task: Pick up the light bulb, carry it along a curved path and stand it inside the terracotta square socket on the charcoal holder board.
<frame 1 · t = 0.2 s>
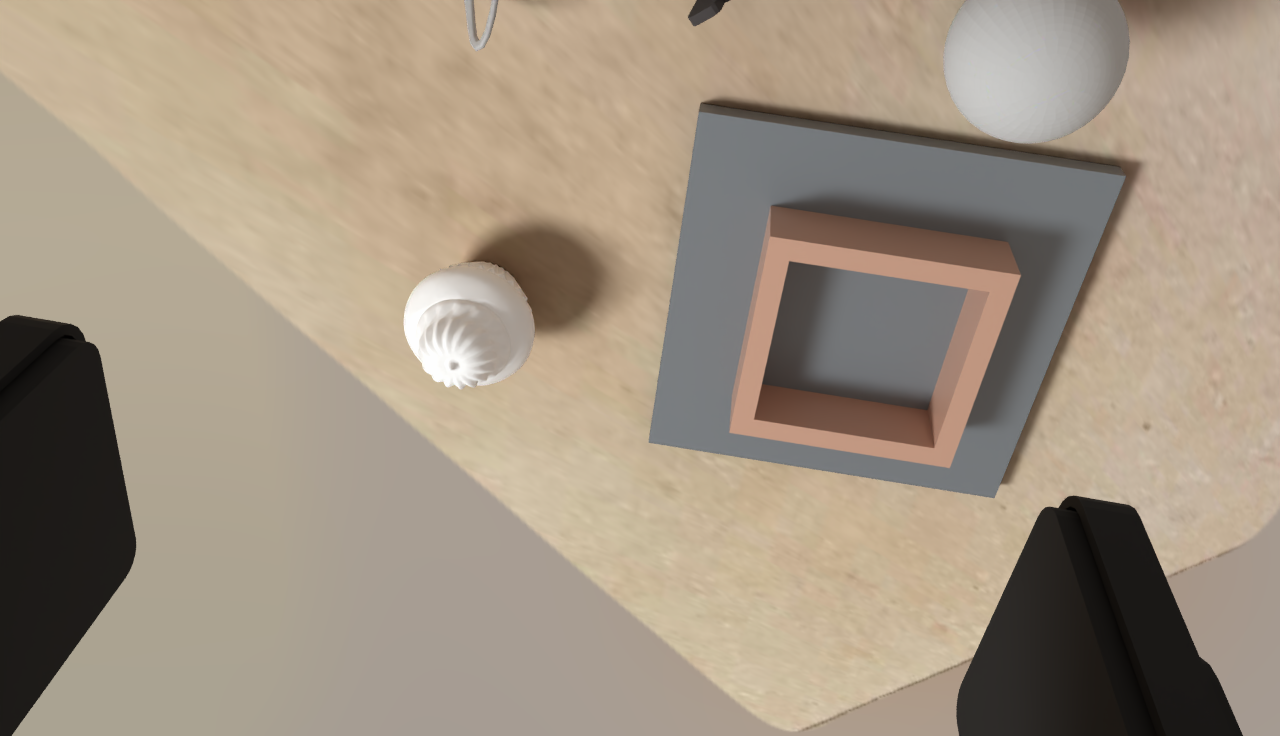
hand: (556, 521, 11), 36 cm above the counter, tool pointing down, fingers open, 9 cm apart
holder board: (859, 312, 50), on the counter
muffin: (487, 288, 52), on the counter
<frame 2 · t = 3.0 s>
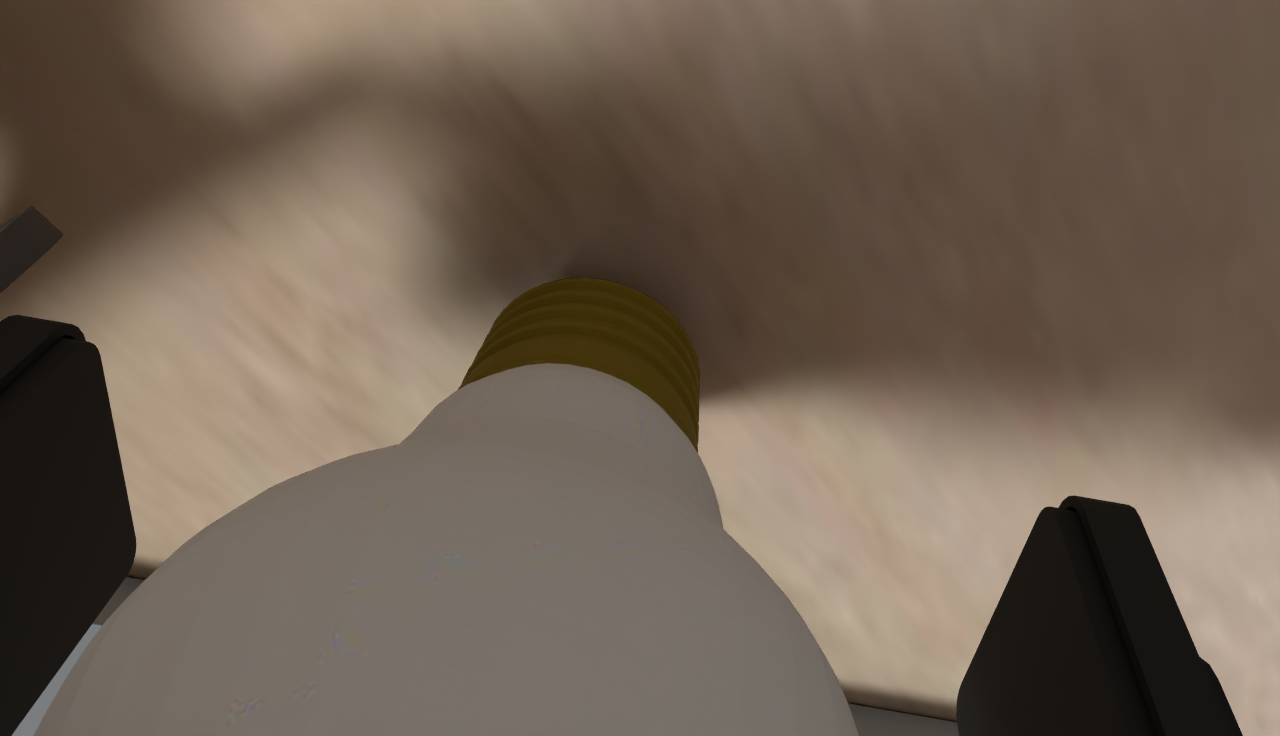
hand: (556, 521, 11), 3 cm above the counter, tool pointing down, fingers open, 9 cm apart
light bulb: (603, 328, 13), on the counter
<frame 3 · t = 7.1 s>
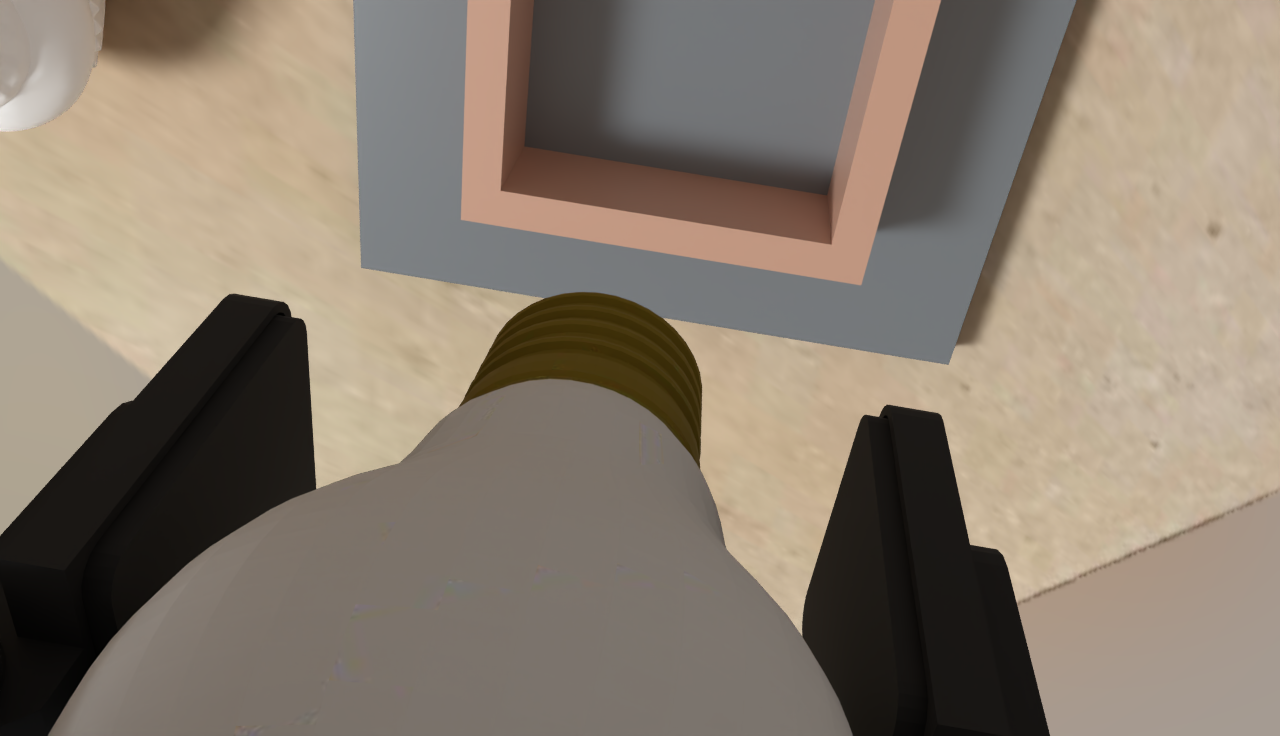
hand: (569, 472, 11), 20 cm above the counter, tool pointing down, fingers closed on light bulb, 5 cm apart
holder board: (701, 6, 28), on the counter
light bulb: (605, 341, 14), point 17 cm above the counter, touching gripper
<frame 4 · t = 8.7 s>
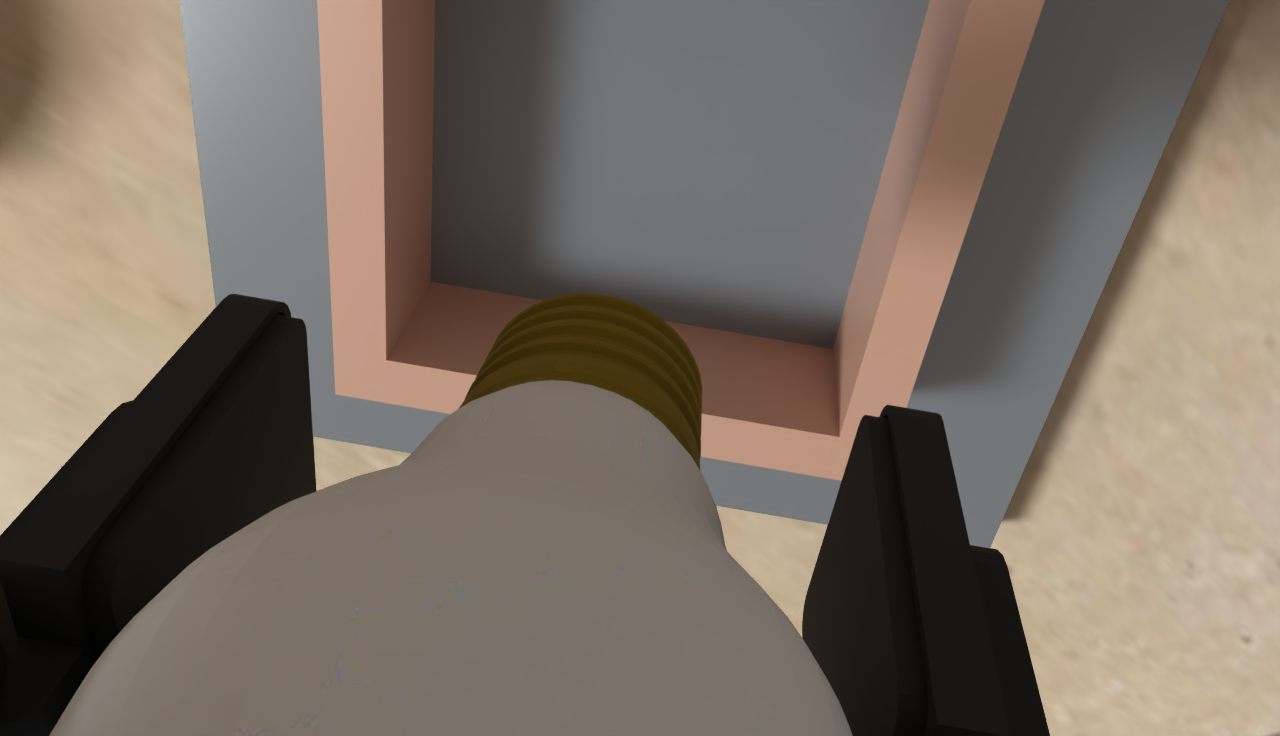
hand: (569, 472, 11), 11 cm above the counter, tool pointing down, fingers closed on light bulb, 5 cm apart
holder board: (663, 103, 20), on the counter
light bulb: (605, 342, 14), point 8 cm above the counter, touching gripper
when the fingers open (5 cm above the counter, at t = 10.3 s): light bulb drops 1 cm, resting on holder board.
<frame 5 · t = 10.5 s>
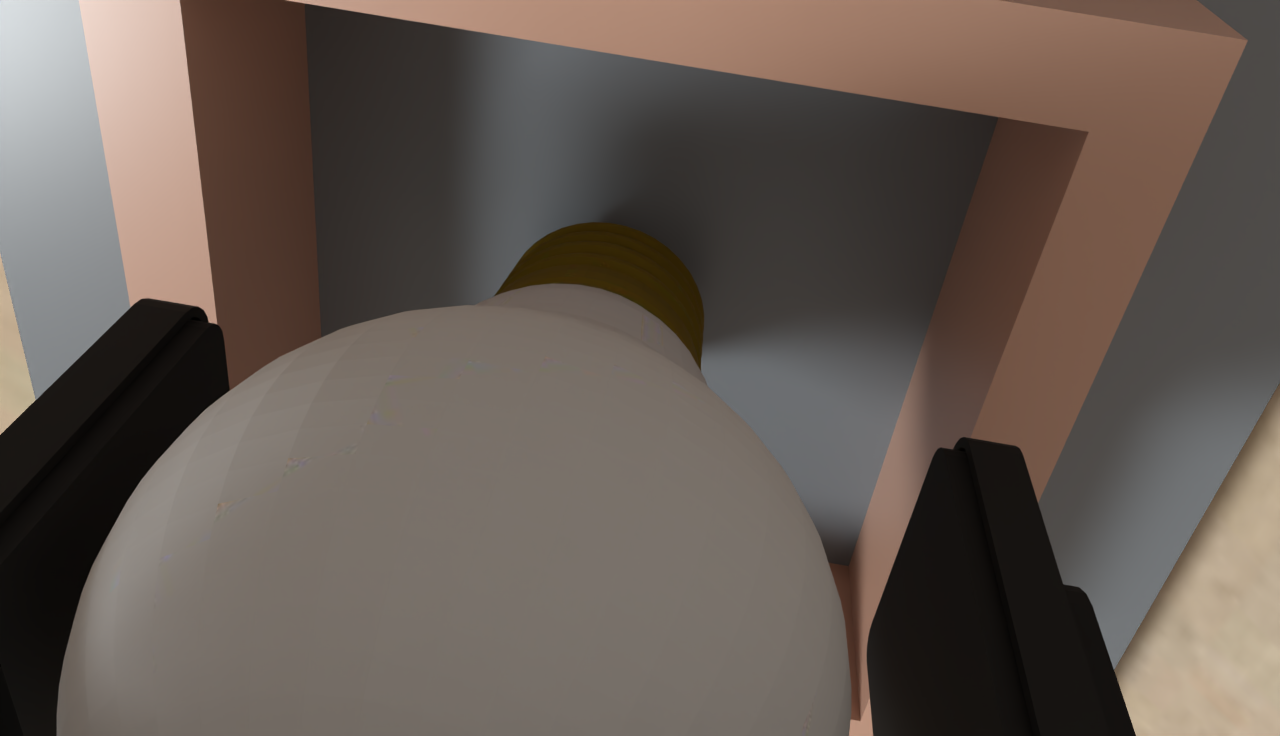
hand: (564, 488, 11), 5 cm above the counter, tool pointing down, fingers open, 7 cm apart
holder board: (626, 260, 15), on the counter
light bulb: (616, 280, 15), point 1 cm above the counter, touching holder board
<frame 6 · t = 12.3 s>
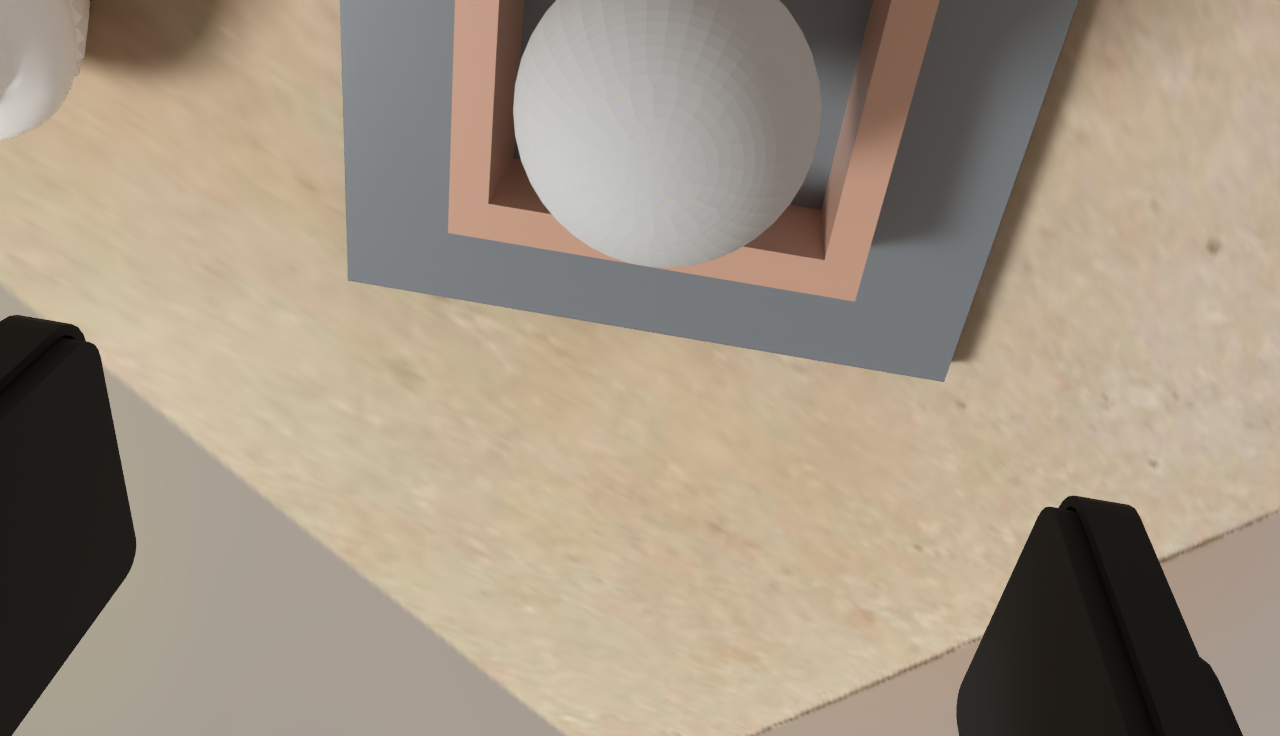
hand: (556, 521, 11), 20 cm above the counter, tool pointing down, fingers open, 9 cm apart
holder board: (693, 17, 27), on the counter
light bulb: (690, 20, 26), point 1 cm above the counter, touching holder board
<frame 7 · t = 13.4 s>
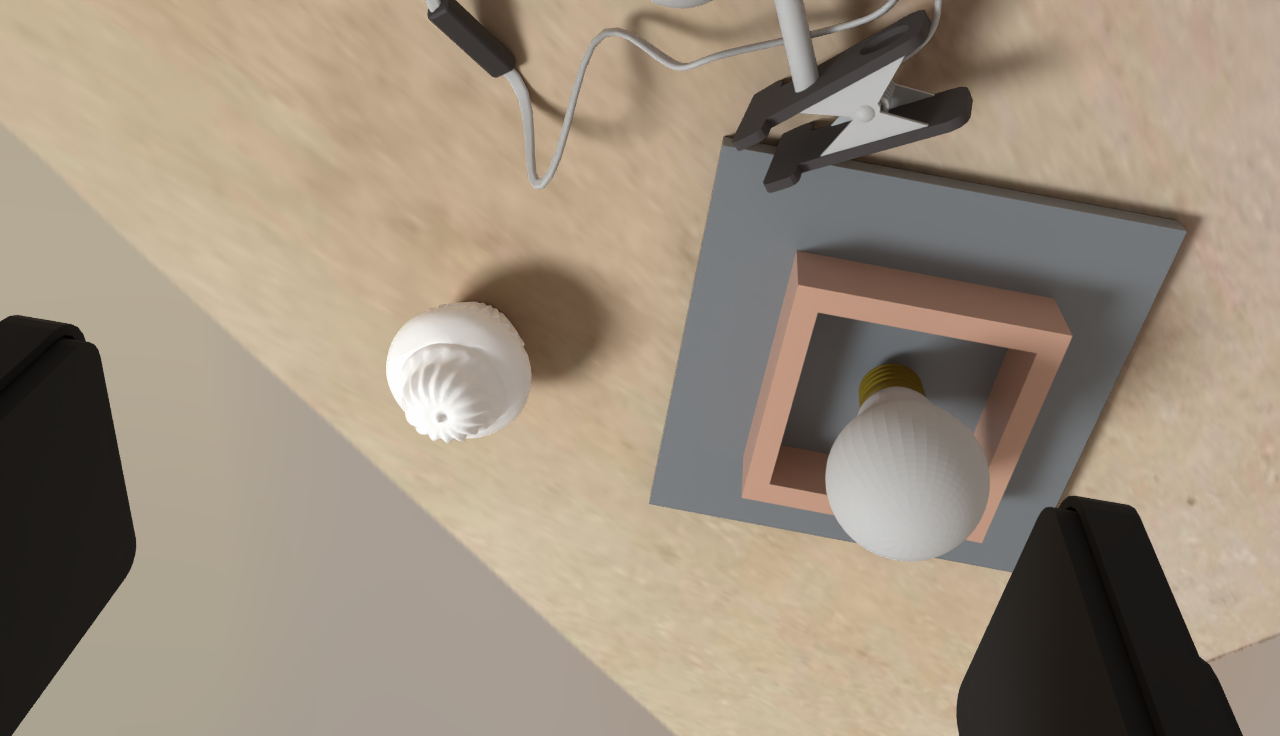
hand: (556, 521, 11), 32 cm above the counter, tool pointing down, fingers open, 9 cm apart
holder board: (886, 370, 46), on the counter
light bulb: (888, 377, 45), point 1 cm above the counter, touching holder board
clip-on lamp: (693, 13, 39), on the counter
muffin: (479, 330, 47), on the counter
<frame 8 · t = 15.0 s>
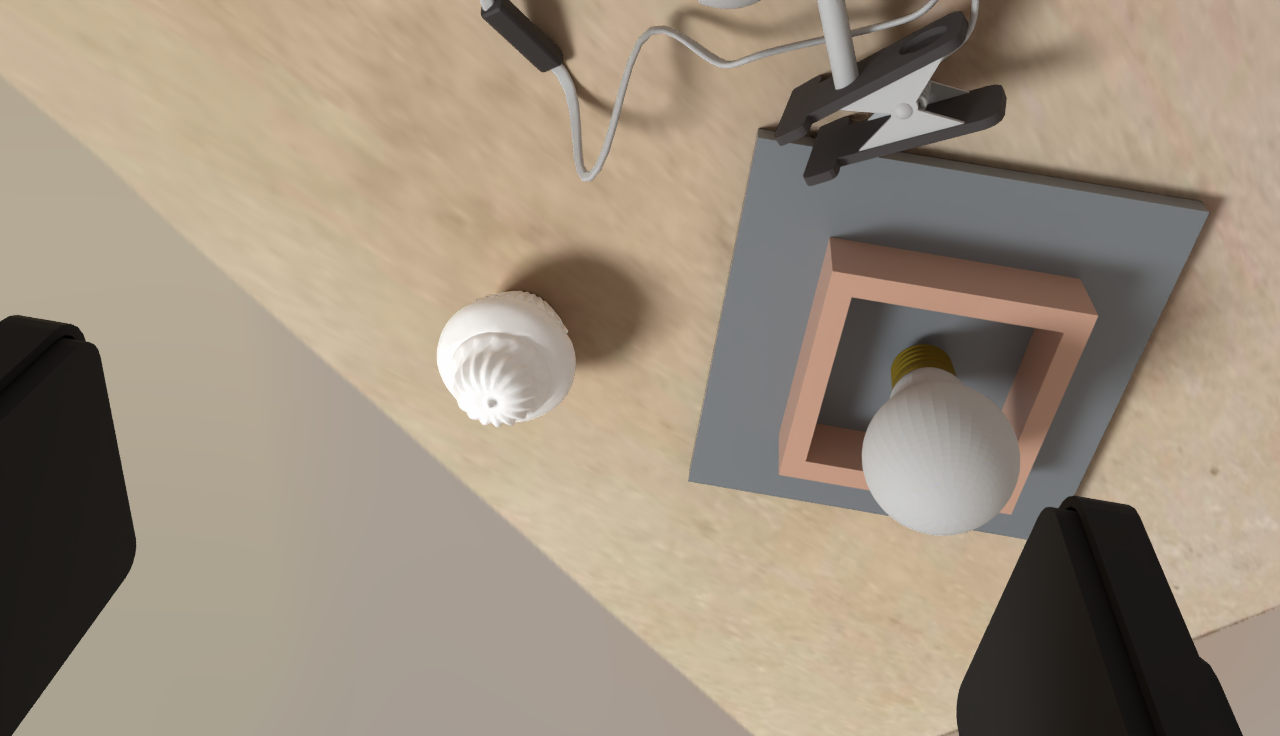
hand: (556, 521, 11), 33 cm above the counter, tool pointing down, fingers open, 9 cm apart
holder board: (917, 349, 47), on the counter
light bulb: (918, 356, 47), point 1 cm above the counter, touching holder board
clip-on lamp: (735, 10, 40), on the counter
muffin: (523, 318, 49), on the counter
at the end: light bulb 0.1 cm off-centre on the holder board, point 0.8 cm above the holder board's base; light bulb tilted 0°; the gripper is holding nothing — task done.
